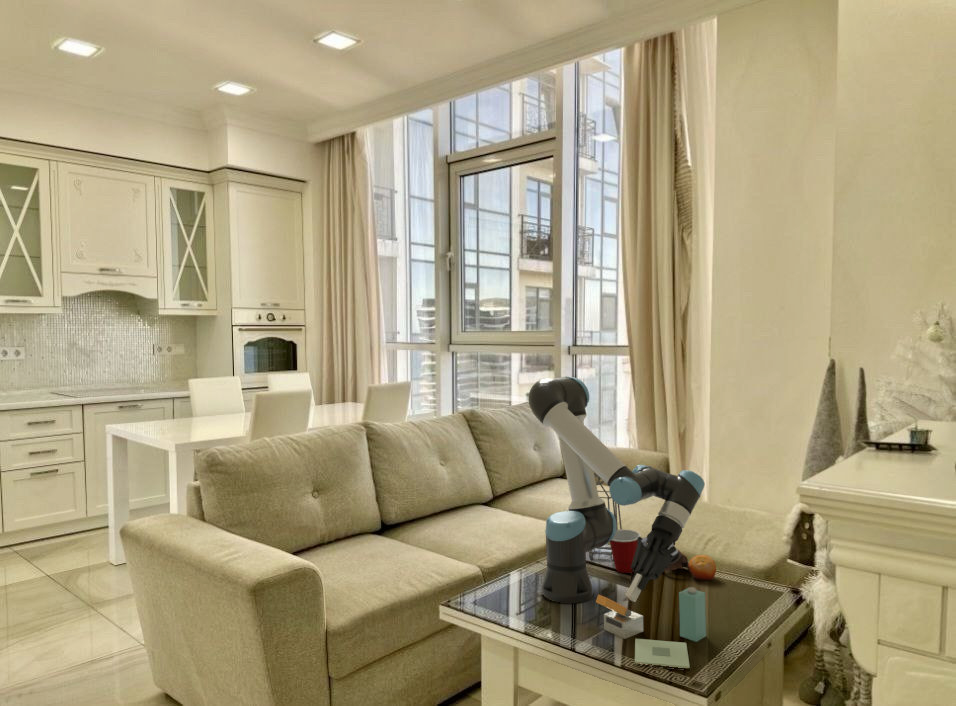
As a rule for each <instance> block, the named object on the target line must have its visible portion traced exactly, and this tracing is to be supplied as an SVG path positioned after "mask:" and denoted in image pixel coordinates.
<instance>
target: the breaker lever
mask: <svg viewBox="0 0 956 706" xmlns="http://www.w3.org/2000/svg"><path fill="white" fill-rule="evenodd" d="M595 603H597V604H598V605H601V606H602V607H604V608H606V609H609V610H610V611H614V612H617V613H619V614H621V615H624V616H628V617H630V616H631V611H632V610H630V609H629V608H628V607H626V606H624V605H622V604H620V603H618V602H616V601H614V600H612V599H610V598H608V597H606V596H603V595H601V594H597V598H596V599H595Z"/></svg>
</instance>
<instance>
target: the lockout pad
mask: <svg viewBox="0 0 956 706" xmlns="http://www.w3.org/2000/svg"><path fill="white" fill-rule="evenodd" d="M634 639H635V640H634V641H635V642H634V664H635V663H642V664H652V665H661V666H669V667H678V668H690V669H691V667H690V660H689V654H688V646H687V642H680V641H679V642H678V641H667V640H658V639H657V640H656V639H655V640H654V639H645V638H634Z"/></svg>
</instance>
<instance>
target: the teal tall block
mask: <svg viewBox="0 0 956 706" xmlns="http://www.w3.org/2000/svg"><path fill="white" fill-rule="evenodd" d="M678 604H679V605H678V607H679V637H682V638H684V639H688V640H689V641H692V642H697V643H698V642H699V641H701V640H702V639H704V638H706V636H707V630H706V628H707V624H706V622H707V620H706V592H705V591H700V590H698V589H697V587H694V586H689V587H687V588H686V589H683V590H681V591H679V592H678Z"/></svg>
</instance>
